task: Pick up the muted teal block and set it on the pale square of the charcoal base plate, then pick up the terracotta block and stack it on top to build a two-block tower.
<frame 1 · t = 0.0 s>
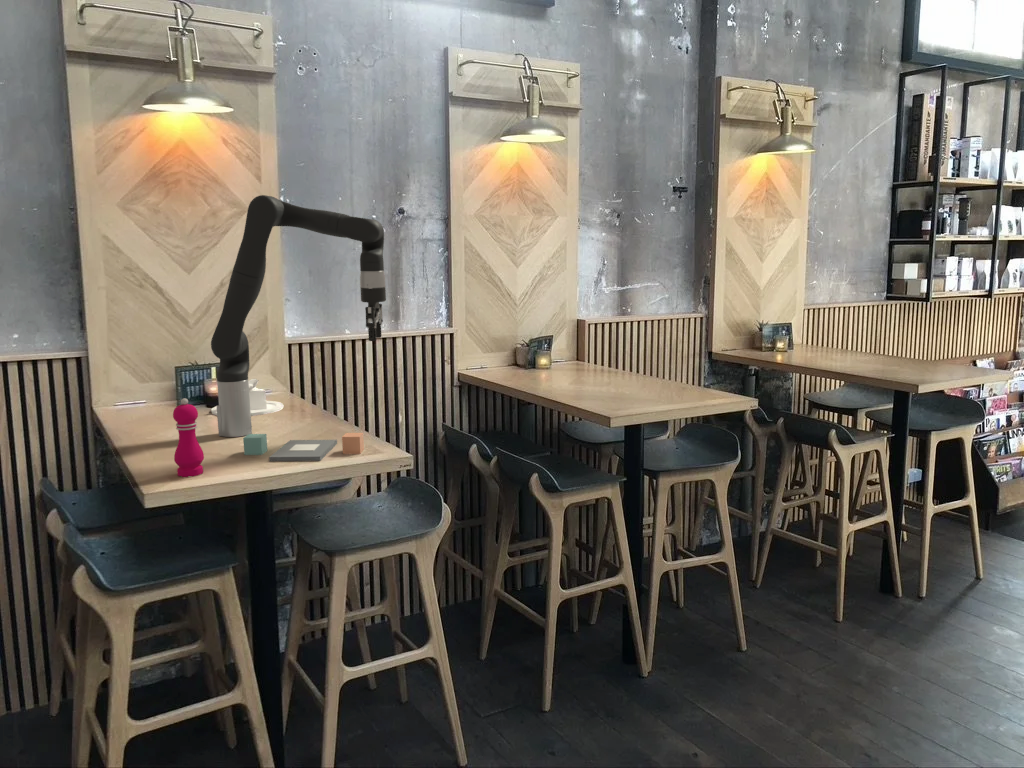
hand: (375, 339, 260), 29 cm above the table, fingers open, 8 cm apart
brick top: (353, 452, 241), on the table
dish: (247, 411, 306), on the table
brick base: (256, 453, 242), on the table
base plate: (304, 452, 242), on the table
pepper mill: (190, 474, 221), on the table
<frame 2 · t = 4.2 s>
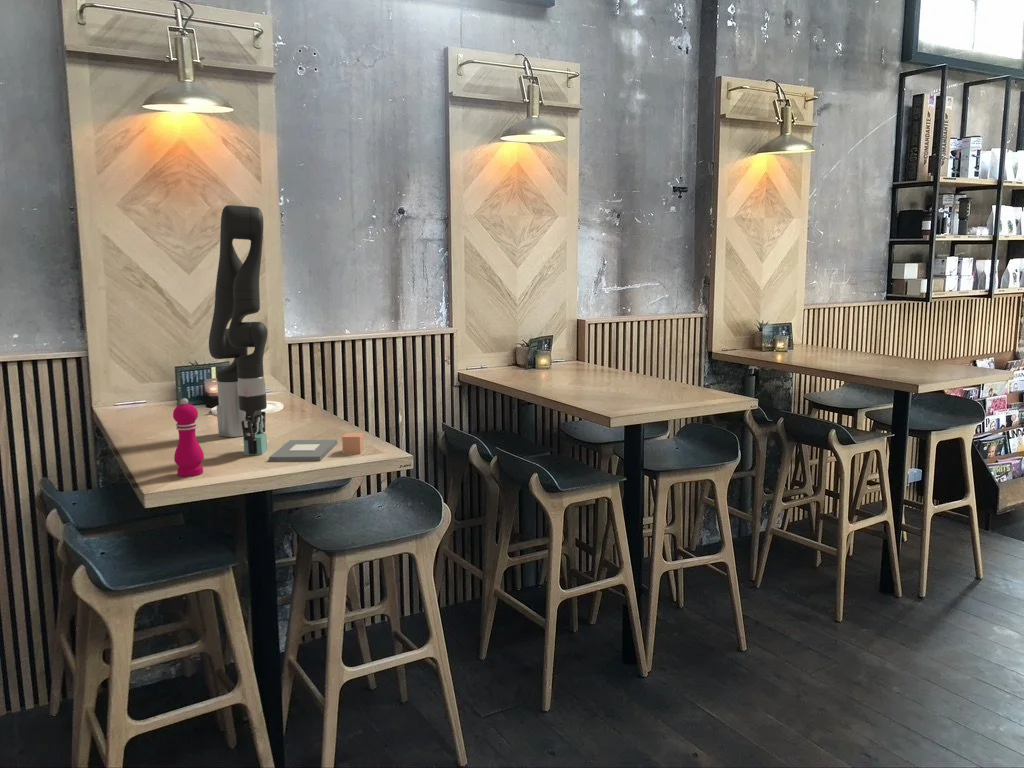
hand: (256, 451, 242), 0 cm above the table, fingers closed on brick base, 5 cm apart
brick base: (256, 452, 242), on the table, touching gripper
everything else where it was.
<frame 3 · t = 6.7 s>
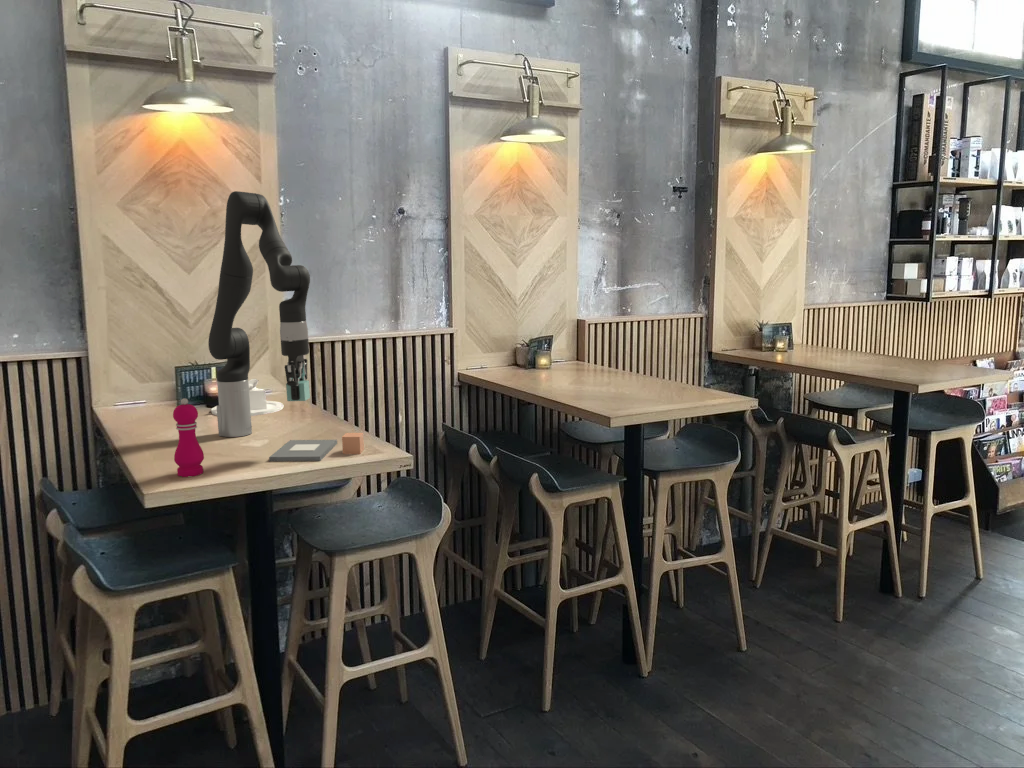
hand: (298, 397, 239), 16 cm above the table, fingers closed on brick base, 5 cm apart
brick base: (298, 399, 239), point 15 cm above the table, touching gripper
everything else where it was.
when the fingers open (3 cm above the table, at t = 9.6 s): brick base drops 1 cm, resting on base plate.
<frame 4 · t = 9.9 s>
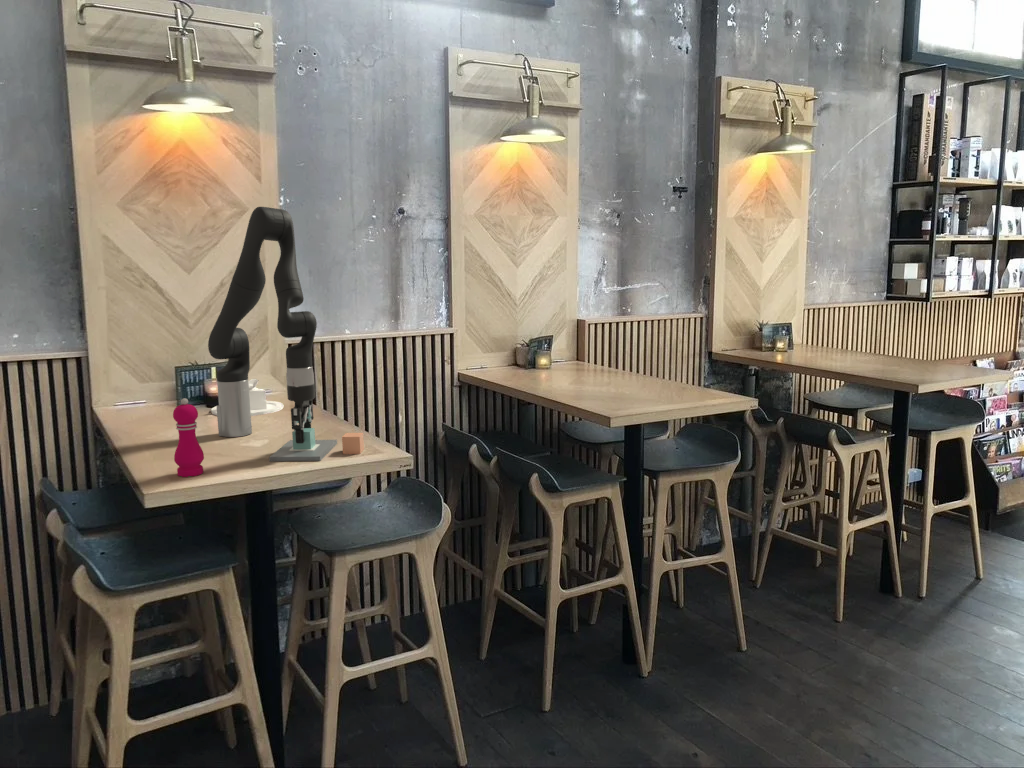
hand: (303, 439, 241), 4 cm above the table, fingers open, 7 cm apart
brick base: (304, 447, 241), point 1 cm above the table, touching base plate
everything else where it was.
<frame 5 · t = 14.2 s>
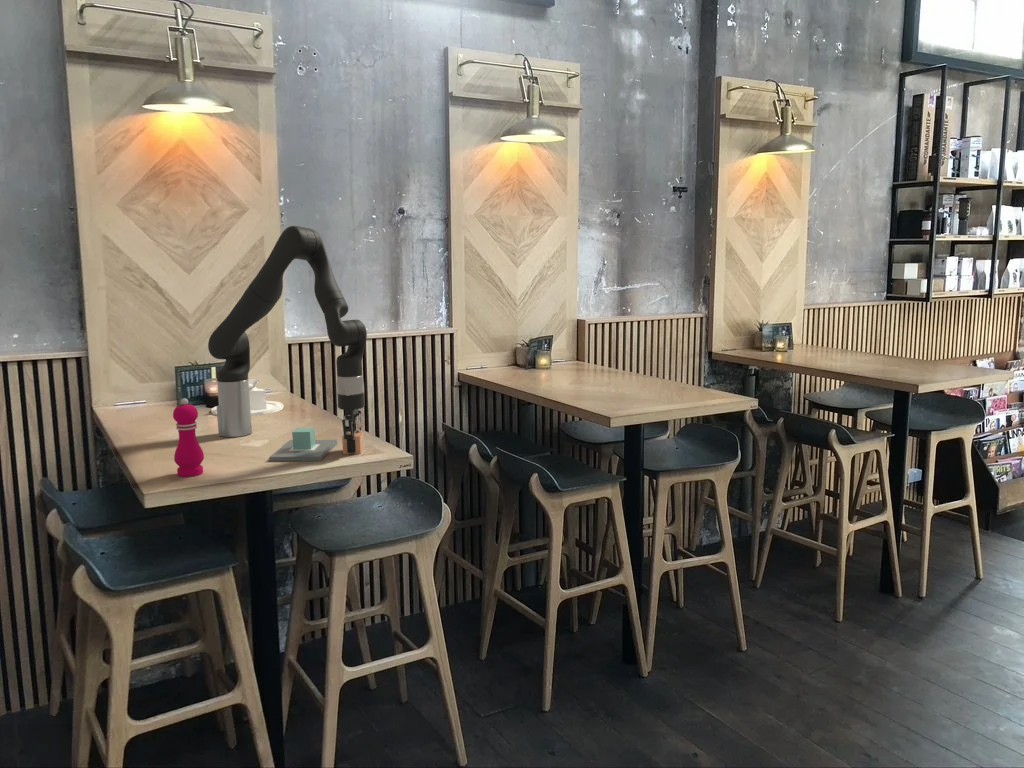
hand: (353, 449, 241), 0 cm above the table, fingers closed on brick top, 5 cm apart
brick top: (353, 451, 241), on the table, touching gripper
everything else where it was.
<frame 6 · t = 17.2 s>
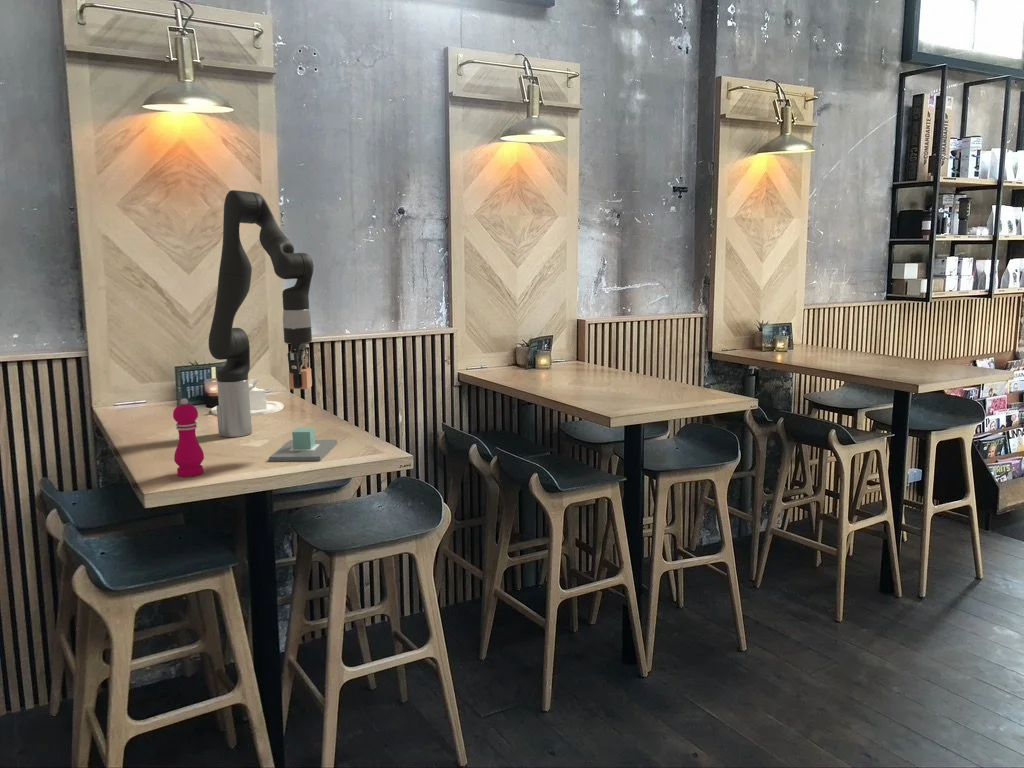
hand: (300, 385, 238), 19 cm above the table, fingers closed on brick top, 5 cm apart
brick top: (300, 387, 238), point 19 cm above the table, touching gripper
everything else where it was.
when the fingers open (8 cm above the table, at t = 20.2 s): brick top drops 1 cm, resting on brick base.
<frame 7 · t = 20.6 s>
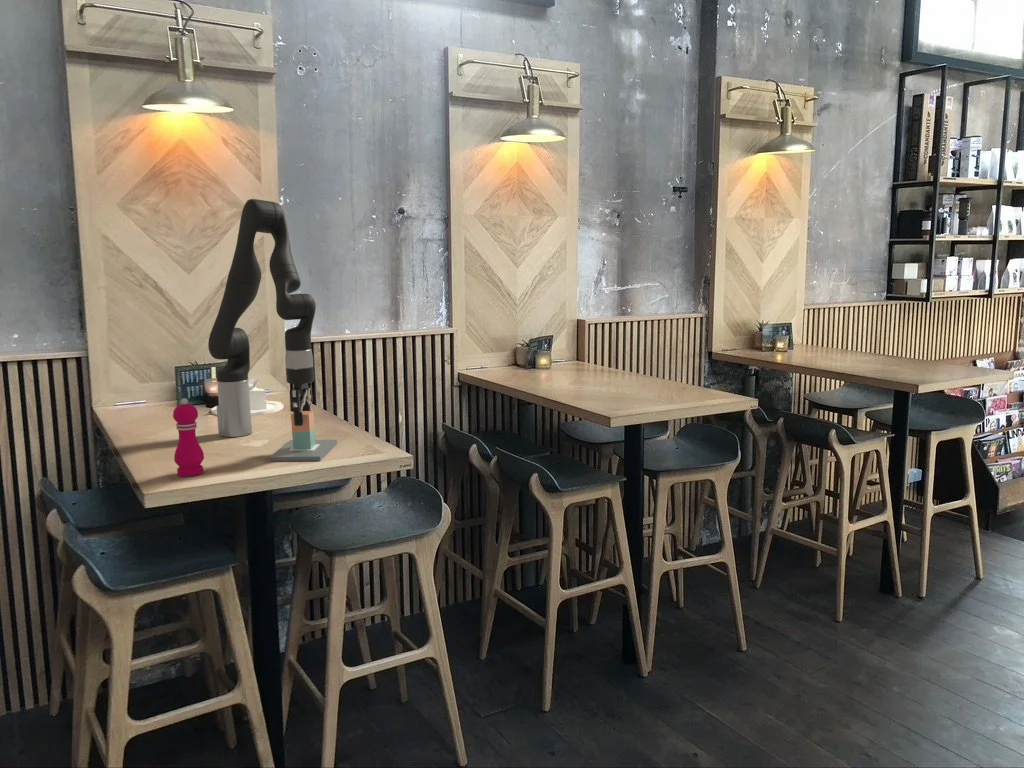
hand: (302, 422, 240), 9 cm above the table, fingers open, 8 cm apart
brick top: (303, 430, 240), point 6 cm above the table, touching brick base
brick base: (304, 447, 241), point 1 cm above the table, touching base plate, brick top
everything else where it was.
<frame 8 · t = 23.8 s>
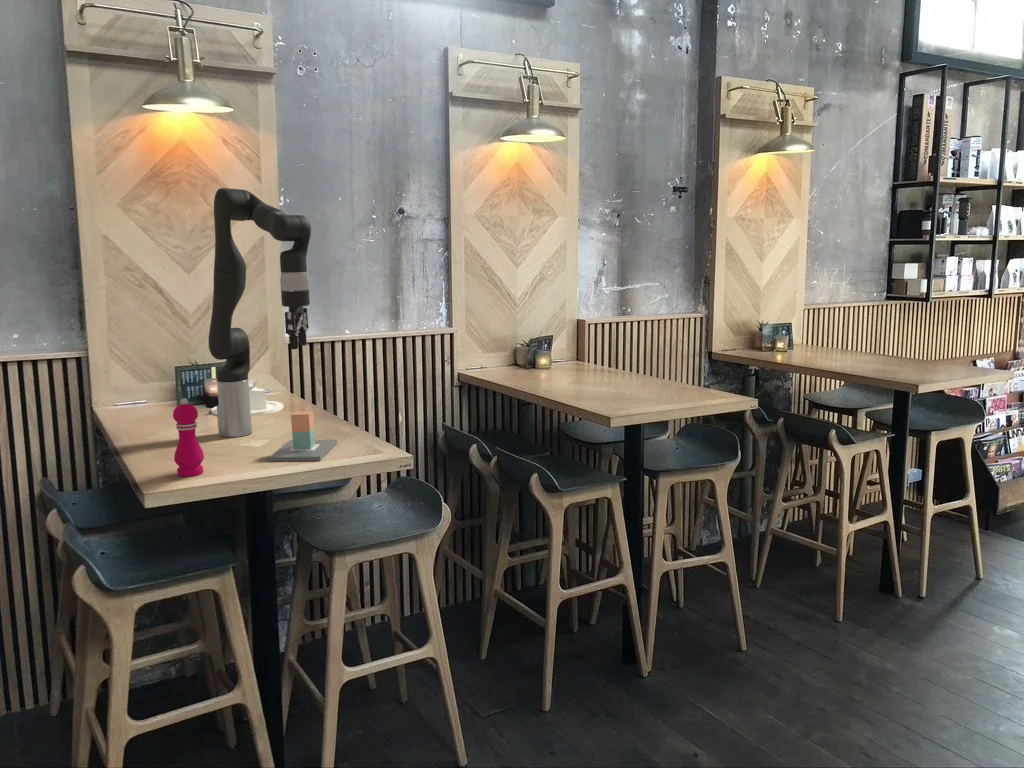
hand: (298, 347, 237), 30 cm above the table, fingers open, 8 cm apart
nothing on the table moved.
at the end: brick base 0.1 cm off-centre on the base plate, point 1.4 cm above the base plate's base; brick top 0.1 cm off-centre on the brick base, point 5.0 cm above the brick base's base; brick top tilted 0° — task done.
